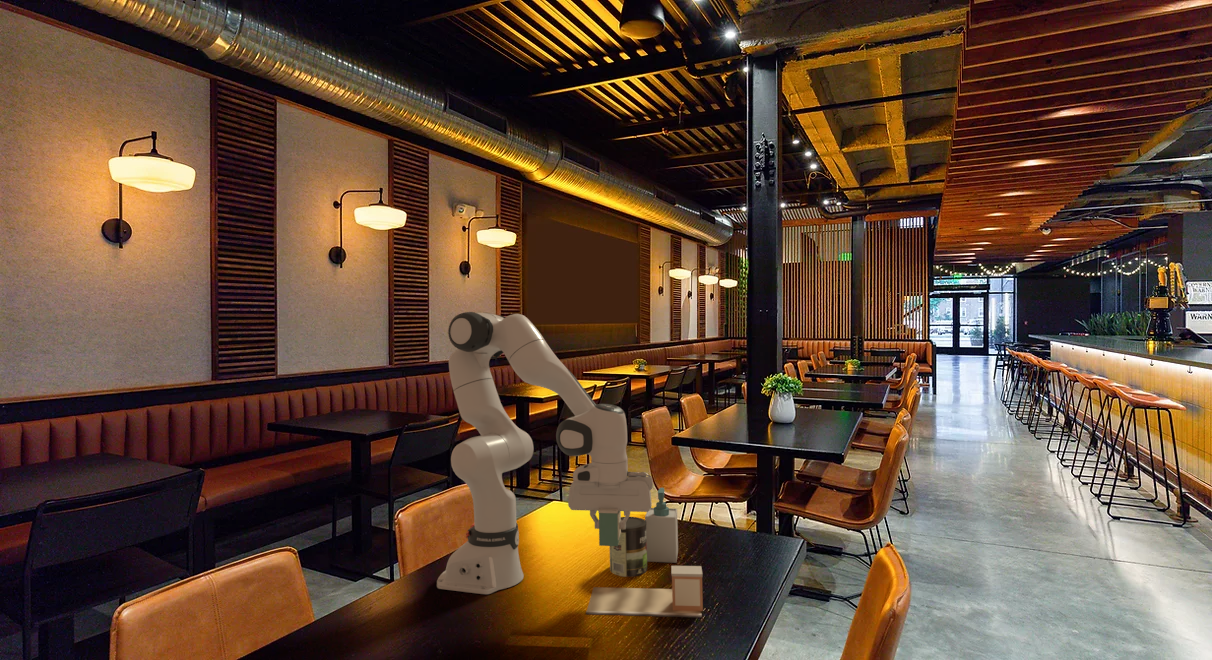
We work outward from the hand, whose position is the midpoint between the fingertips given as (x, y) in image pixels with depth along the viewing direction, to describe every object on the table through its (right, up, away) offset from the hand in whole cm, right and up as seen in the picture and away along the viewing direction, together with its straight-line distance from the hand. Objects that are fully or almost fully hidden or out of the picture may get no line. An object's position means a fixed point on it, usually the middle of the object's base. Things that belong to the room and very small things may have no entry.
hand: (610, 528), depth 143 cm
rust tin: (+18, -16, -7) cm, 25 cm away
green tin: (0, -3, 0) cm, 3 cm away
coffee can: (+5, -18, +15) cm, 24 cm away
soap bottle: (+15, -18, +28) cm, 36 cm away
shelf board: (+8, -17, -3) cm, 20 cm away
